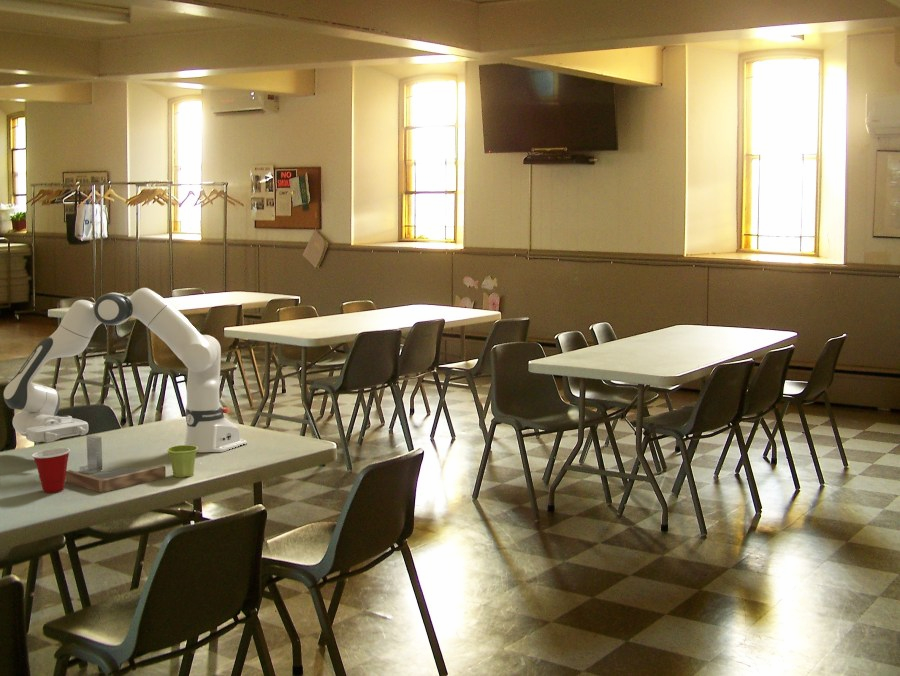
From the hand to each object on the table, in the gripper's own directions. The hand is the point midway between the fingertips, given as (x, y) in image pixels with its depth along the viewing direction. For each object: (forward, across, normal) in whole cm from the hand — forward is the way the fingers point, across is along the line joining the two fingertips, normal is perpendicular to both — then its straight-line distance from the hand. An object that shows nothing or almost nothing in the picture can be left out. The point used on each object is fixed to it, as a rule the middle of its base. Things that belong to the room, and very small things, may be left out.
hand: (70, 434), depth 350 cm
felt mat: (+27, -2, +10) cm, 29 cm away
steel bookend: (+12, -1, +10) cm, 16 cm away
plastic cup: (+24, -22, +10) cm, 34 cm away
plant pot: (+40, +14, +10) cm, 43 cm away
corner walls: (+28, -2, +10) cm, 29 cm away
